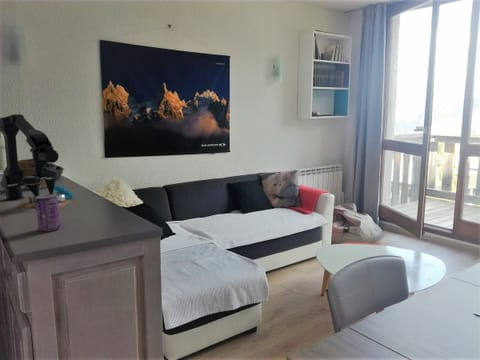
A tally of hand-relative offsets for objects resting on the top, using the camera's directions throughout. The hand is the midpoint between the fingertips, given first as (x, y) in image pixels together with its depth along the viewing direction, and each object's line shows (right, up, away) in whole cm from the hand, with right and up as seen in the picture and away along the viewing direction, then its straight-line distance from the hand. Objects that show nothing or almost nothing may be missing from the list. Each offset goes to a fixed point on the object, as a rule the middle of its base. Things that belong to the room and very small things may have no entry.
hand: (44, 196), depth 179 cm
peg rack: (0, -4, +1) cm, 4 cm away
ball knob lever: (+2, -2, 0) cm, 3 cm away
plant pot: (-27, +2, +46) cm, 53 cm away
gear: (+3, -2, +11) cm, 12 cm away
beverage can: (+21, -10, -39) cm, 46 cm away
